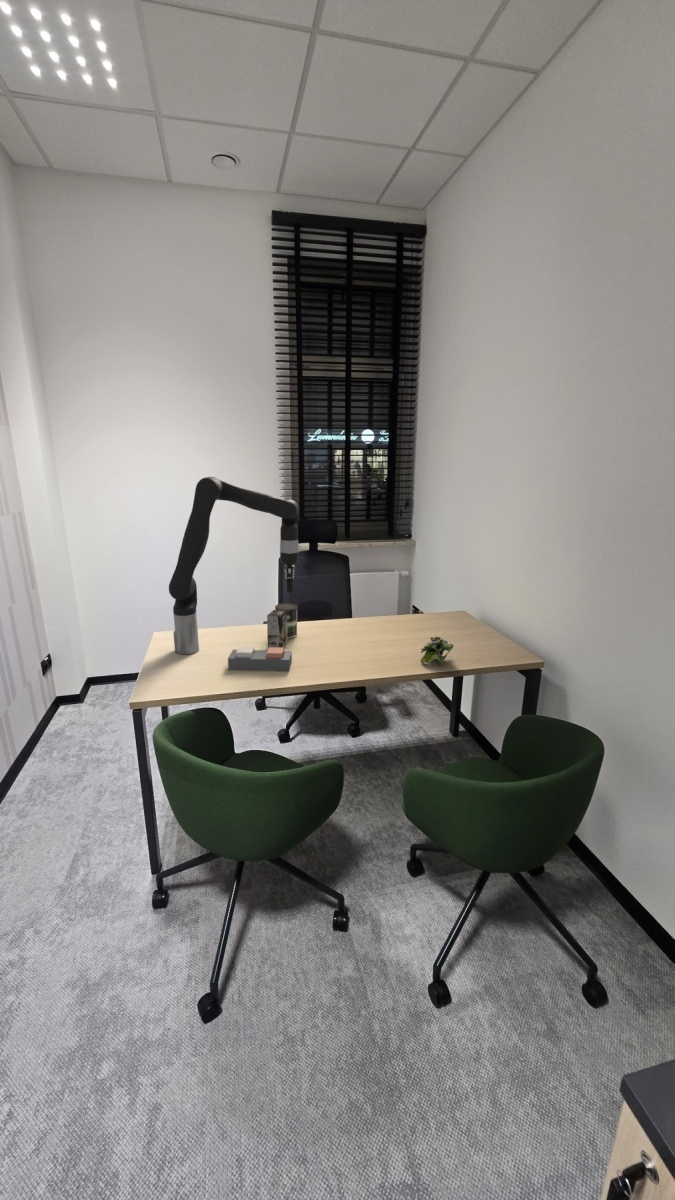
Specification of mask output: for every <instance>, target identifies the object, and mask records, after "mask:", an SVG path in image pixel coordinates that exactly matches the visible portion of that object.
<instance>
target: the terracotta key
mask: <svg viewBox="0 0 675 1200" xmlns="http://www.w3.org/2000/svg"><path fill="white" fill-rule="evenodd" d="M267 650H268V651H267V658H280V659H283V656H284V651H285V647H284V648H281V647H269V648H268V647H267Z"/></svg>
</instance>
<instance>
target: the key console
mask: <svg viewBox="0 0 675 1200" xmlns="http://www.w3.org/2000/svg"><path fill="white" fill-rule="evenodd" d="M237 650H238V649H232V651H231V652H230V654H229V656H227V657H228V658H227V668H228V671H248V672H249V671H251V672H253V671H254V672H290V670H291V667H292V664H293V655H292V653H293V651H292V650H284V656H283V659H280V658H267V651H268V649H267V650H266V649H265V650H264V649H254V655H253V657H252V658H238V657H236V652H237Z"/></svg>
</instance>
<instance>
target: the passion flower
mask: <svg viewBox="0 0 675 1200" xmlns="http://www.w3.org/2000/svg"><path fill="white" fill-rule="evenodd" d="M453 648H454V643H452V642H451V643H449V642H448V641H447V640H445V639H443V638H442V637H441V636H439V637H438V636H434V637H430V641H429V642H427V643H426V644H425V645H423V648H420V650H421V651H420V654H422V653H424V654H423V656H422V657H421V659H420V663H421V664H423V663H427V664H429V663H431V662H433V661H435V660H436V659H437V660H438V662H439V663H440V664H441V666H443V665H444V663H445V659H446V658H447V655H448V654H449V653H450V652H451V650H452V649H453ZM445 651H448V652H447V653H446V654H445V655H443V654H444V652H445Z"/></svg>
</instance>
